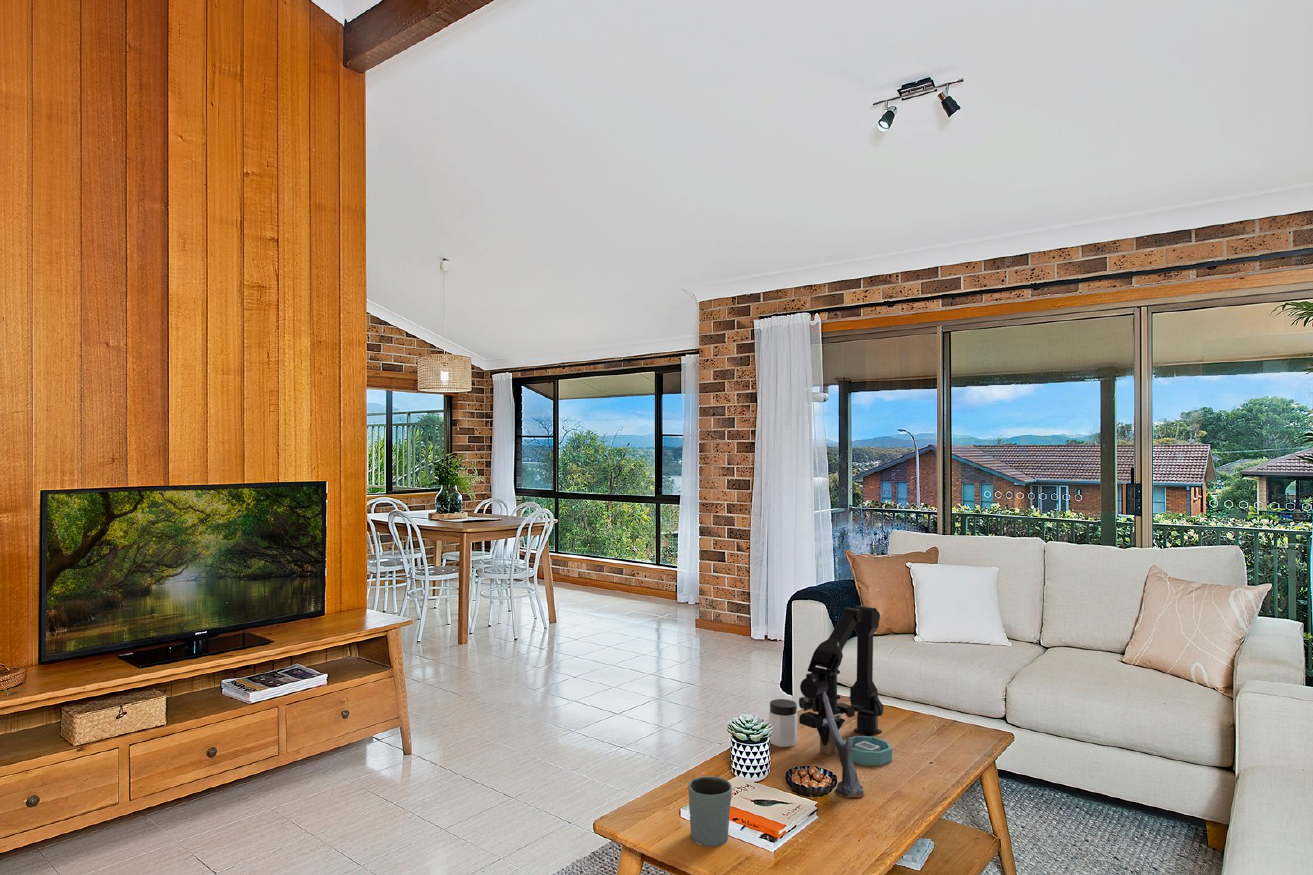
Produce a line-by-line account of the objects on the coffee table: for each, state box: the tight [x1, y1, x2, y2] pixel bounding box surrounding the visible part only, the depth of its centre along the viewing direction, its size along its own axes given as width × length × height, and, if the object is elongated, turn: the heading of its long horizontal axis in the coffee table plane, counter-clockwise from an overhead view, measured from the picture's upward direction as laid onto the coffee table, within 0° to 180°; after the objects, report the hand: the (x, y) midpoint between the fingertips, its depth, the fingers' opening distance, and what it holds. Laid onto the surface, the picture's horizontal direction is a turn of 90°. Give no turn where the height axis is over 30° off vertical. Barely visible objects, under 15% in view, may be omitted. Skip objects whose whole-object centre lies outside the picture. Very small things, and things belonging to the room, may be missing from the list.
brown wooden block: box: [819, 732, 836, 756], centre depth 232 cm, size 2×4×8 cm, turn 38°
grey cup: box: [687, 775, 733, 847], centre depth 180 cm, size 10×10×12 cm
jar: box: [768, 698, 798, 748], centre depth 241 cm, size 9×8×12 cm
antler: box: [823, 692, 866, 799], centre depth 206 cm, size 12×8×25 cm
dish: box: [843, 735, 893, 767], centre depth 229 cm, size 13×13×4 cm
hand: (827, 744), depth 232 cm, fingers closed on brown wooden block, 2 cm apart
